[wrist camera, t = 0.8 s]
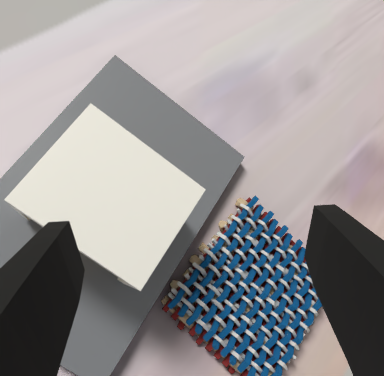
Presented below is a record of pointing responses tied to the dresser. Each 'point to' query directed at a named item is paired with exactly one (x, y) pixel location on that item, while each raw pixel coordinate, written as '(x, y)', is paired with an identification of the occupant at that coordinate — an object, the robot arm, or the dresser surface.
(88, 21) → the dresser surface
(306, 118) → the dresser surface
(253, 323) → the woven mat
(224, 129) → the dresser surface
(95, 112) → the cover
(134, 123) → the puzzle board
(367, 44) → the dresser surface
